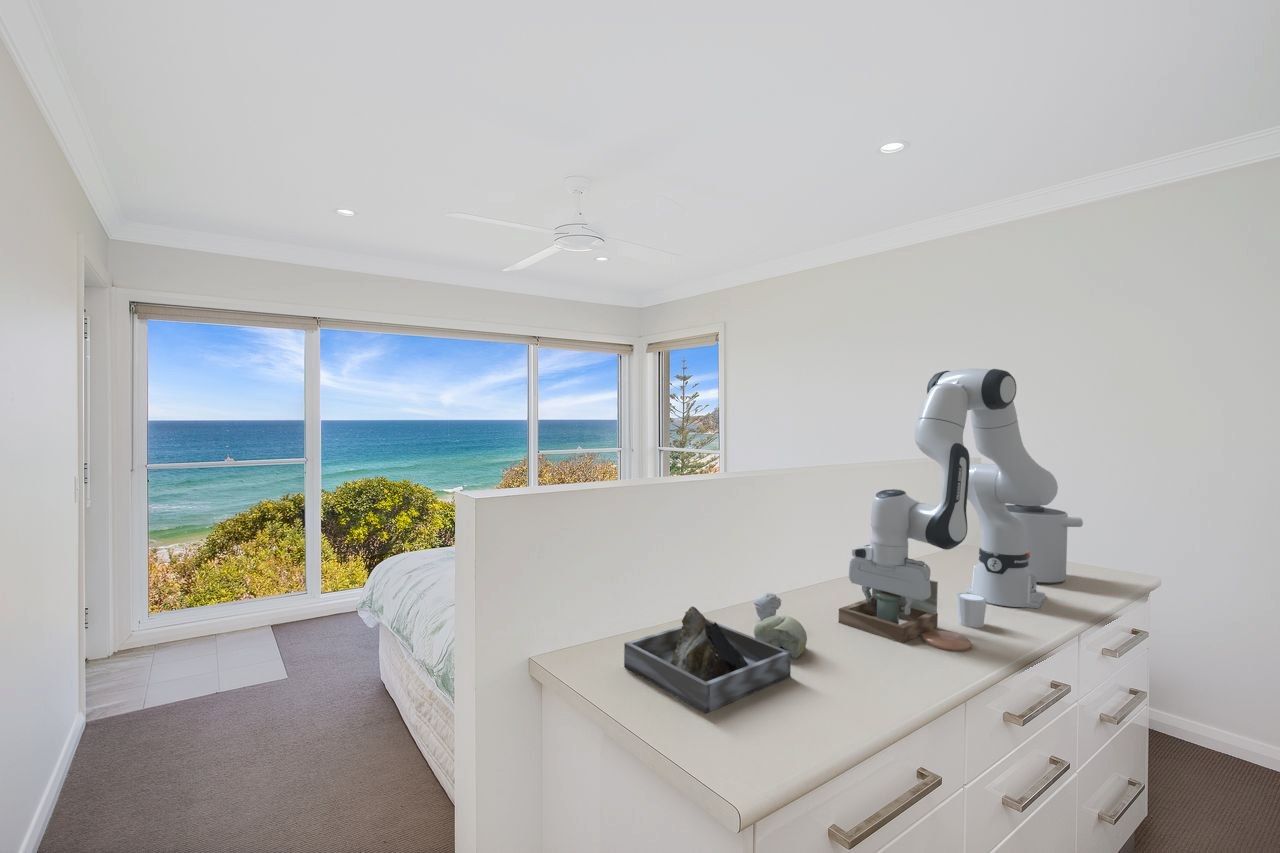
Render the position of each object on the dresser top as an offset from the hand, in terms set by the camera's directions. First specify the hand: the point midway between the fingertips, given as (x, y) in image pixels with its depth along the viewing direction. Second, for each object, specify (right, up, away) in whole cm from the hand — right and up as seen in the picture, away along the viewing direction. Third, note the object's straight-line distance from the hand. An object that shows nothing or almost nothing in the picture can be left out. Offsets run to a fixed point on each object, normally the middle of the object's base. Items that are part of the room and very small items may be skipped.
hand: (887, 608), depth 149 cm
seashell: (-30, -5, -15) cm, 34 cm away
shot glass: (+22, -5, +2) cm, 23 cm away
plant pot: (0, -4, 0) cm, 4 cm away
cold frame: (0, -4, 0) cm, 4 cm away
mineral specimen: (-48, -4, -29) cm, 56 cm away
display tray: (-49, -4, -28) cm, 56 cm away
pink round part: (+9, -5, -11) cm, 15 cm away
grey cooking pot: (+68, -4, +46) cm, 82 cm away
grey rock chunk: (-30, -4, +3) cm, 30 cm away
